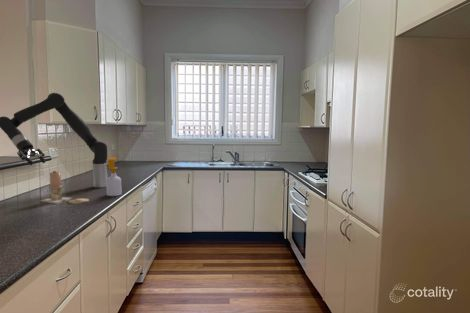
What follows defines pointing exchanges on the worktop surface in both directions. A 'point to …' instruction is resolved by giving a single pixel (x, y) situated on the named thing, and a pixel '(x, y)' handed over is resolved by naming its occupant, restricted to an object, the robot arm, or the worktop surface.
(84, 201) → the mat
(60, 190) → the white display stand
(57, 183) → the lidded jar
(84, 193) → the worktop surface
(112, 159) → the soap bottle
